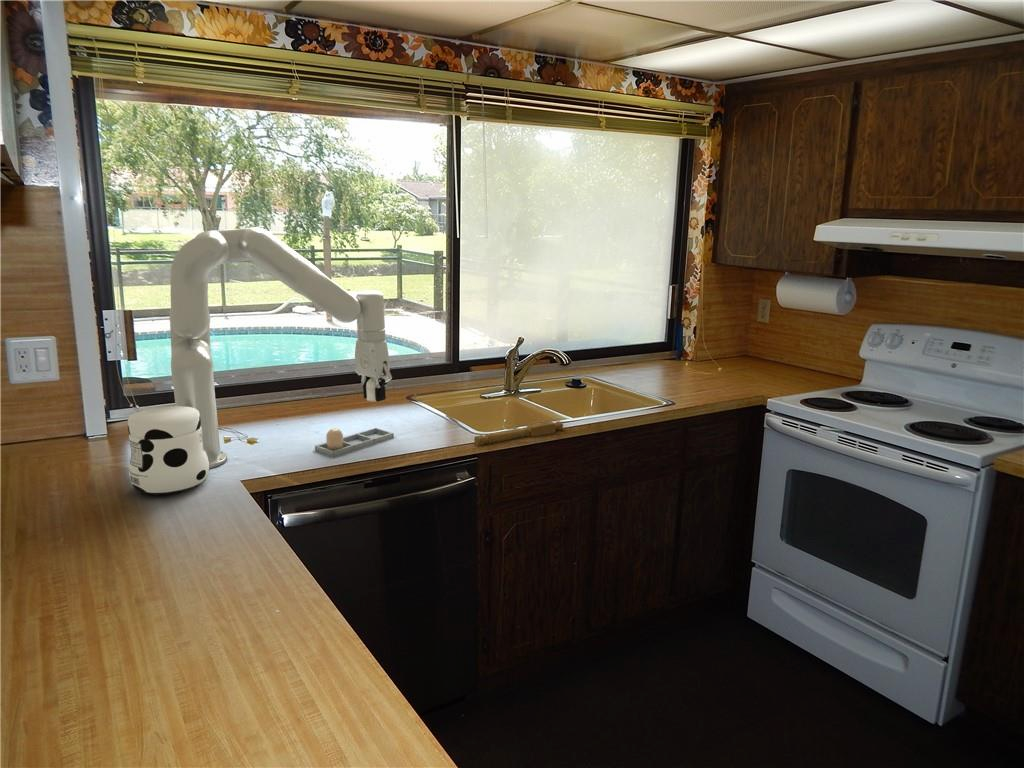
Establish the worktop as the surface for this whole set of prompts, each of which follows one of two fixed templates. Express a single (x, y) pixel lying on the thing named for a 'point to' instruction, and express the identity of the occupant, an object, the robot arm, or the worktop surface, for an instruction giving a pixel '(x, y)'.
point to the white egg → (371, 389)
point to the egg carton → (356, 442)
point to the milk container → (167, 450)
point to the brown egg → (334, 439)
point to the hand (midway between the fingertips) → (374, 398)
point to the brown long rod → (520, 432)
